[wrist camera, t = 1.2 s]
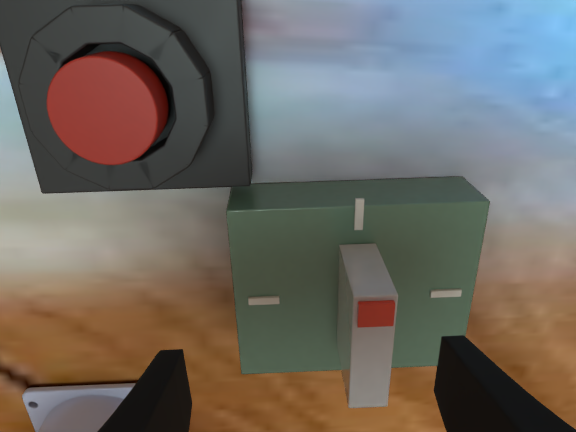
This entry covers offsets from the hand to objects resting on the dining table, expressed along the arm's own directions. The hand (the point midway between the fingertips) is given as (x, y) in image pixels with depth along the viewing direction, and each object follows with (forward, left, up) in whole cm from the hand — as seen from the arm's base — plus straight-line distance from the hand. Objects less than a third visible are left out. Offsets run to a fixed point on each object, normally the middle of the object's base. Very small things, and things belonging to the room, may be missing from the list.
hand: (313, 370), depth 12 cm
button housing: (+6, +6, -10) cm, 14 cm away
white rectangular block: (-3, -3, -7) cm, 8 cm away
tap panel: (-3, -3, -10) cm, 11 cm away
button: (+6, +6, -7) cm, 11 cm away
